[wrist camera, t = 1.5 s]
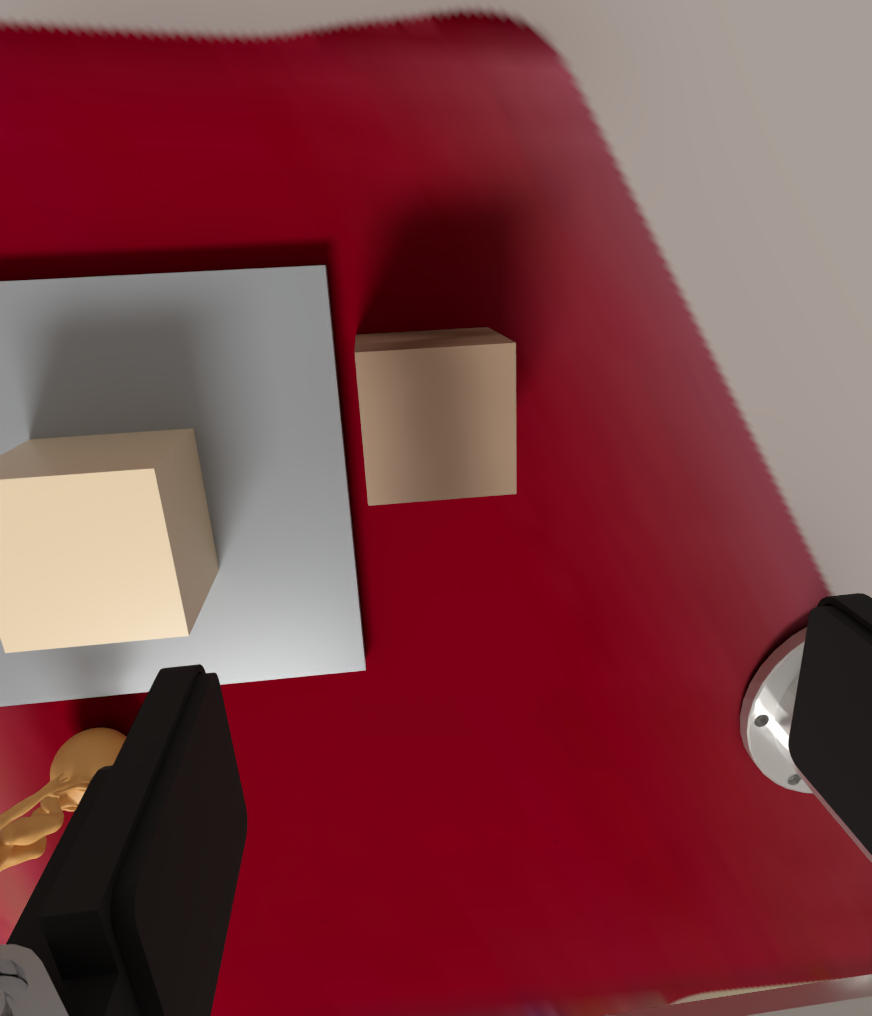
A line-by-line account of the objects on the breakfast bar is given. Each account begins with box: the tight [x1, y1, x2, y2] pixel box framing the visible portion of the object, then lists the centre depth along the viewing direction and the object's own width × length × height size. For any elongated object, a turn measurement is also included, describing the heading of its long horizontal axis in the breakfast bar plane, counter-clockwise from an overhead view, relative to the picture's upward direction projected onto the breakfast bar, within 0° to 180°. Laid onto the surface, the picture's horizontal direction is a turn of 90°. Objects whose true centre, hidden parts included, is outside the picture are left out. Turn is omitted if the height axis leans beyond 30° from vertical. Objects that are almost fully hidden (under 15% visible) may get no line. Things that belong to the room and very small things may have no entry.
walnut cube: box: [355, 327, 516, 506], centre depth 28 cm, size 6×6×6 cm
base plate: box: [0, 265, 366, 706], centre depth 28 cm, size 20×20×7 cm
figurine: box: [0, 728, 126, 871], centre depth 30 cm, size 8×6×12 cm
